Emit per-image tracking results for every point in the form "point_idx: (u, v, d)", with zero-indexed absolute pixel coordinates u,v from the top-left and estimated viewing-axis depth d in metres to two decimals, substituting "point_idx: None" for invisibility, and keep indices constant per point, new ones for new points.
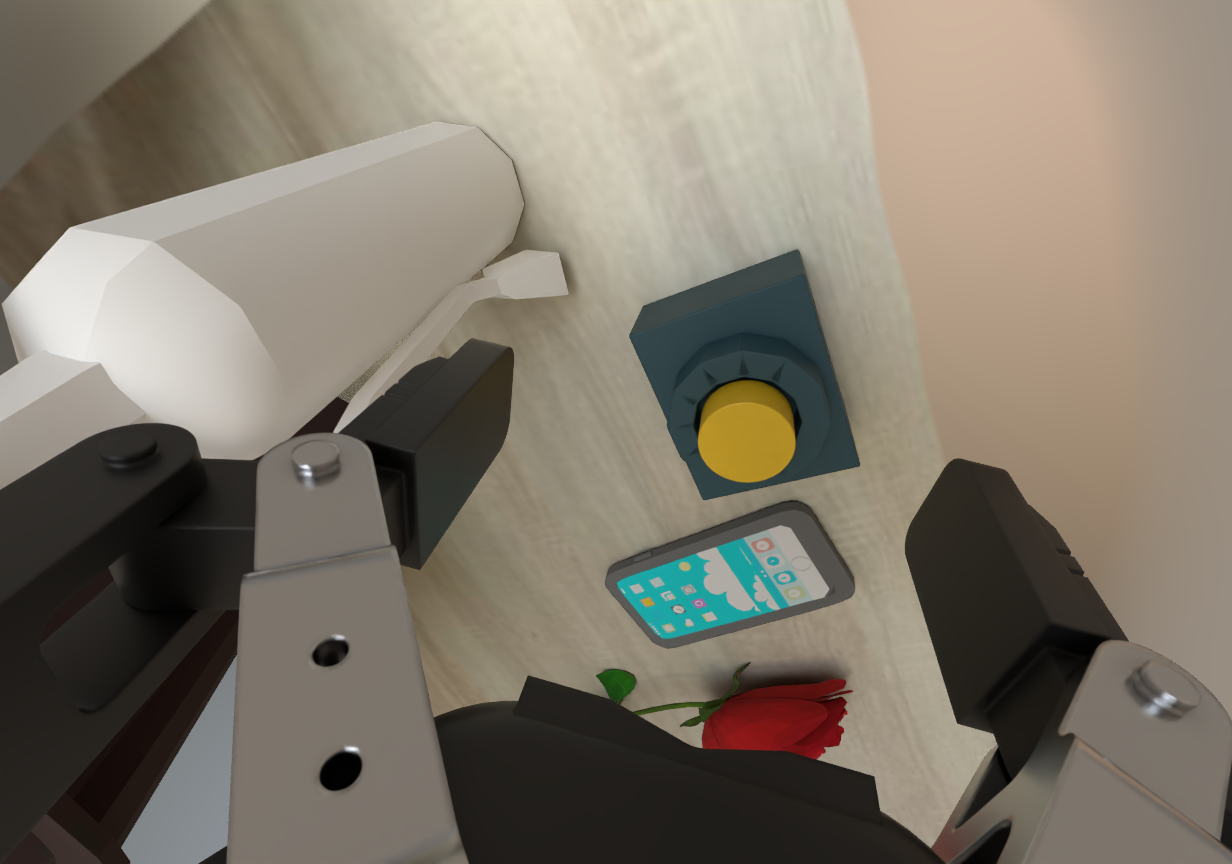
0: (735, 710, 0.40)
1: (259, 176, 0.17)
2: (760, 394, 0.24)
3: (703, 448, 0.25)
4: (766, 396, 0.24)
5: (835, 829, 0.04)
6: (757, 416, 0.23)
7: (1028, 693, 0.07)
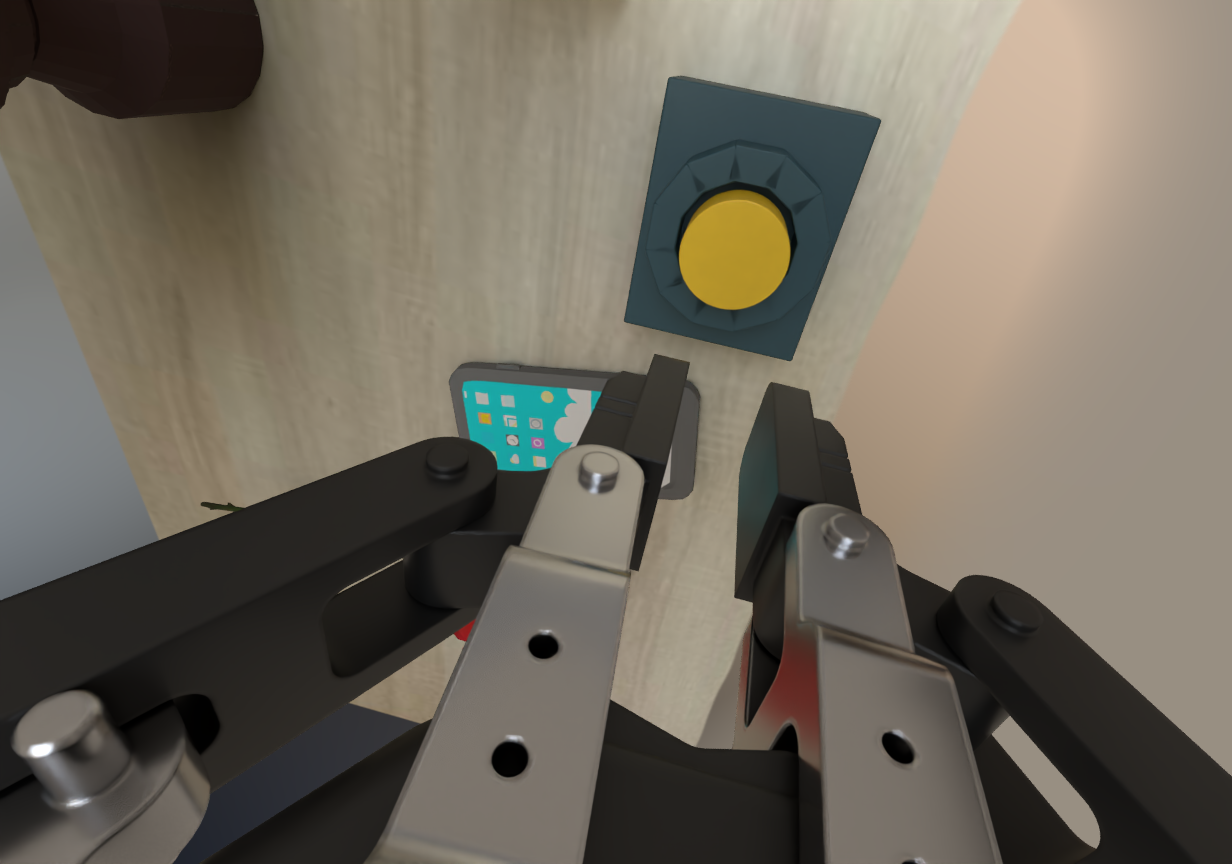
0: None
1: None
2: (777, 213, 0.21)
3: (688, 238, 0.21)
4: (781, 219, 0.21)
5: None
6: (766, 231, 0.20)
7: (769, 557, 0.08)
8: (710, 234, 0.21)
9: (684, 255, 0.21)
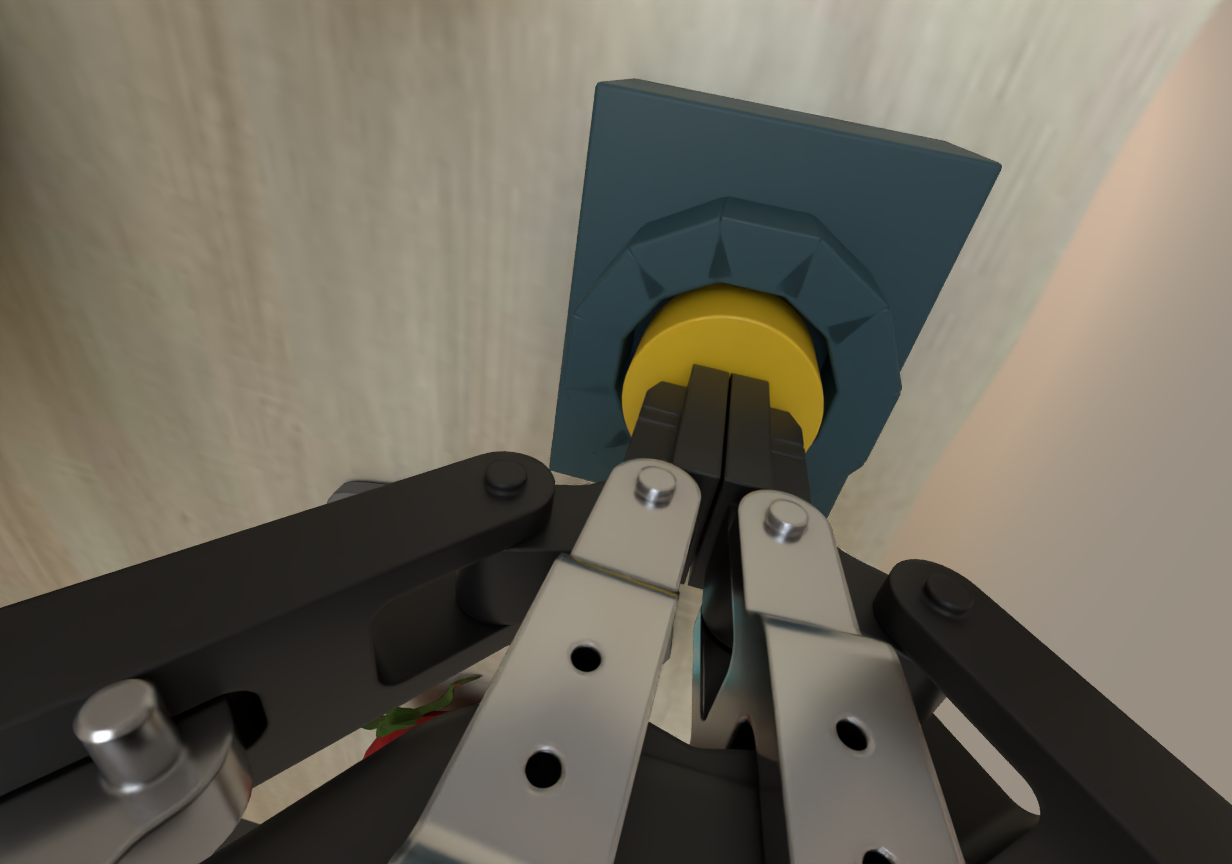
0: None
1: None
2: (799, 333, 0.11)
3: (637, 375, 0.11)
4: (807, 343, 0.11)
5: None
6: (779, 372, 0.11)
7: (718, 544, 0.08)
8: (676, 371, 0.11)
9: (631, 402, 0.12)
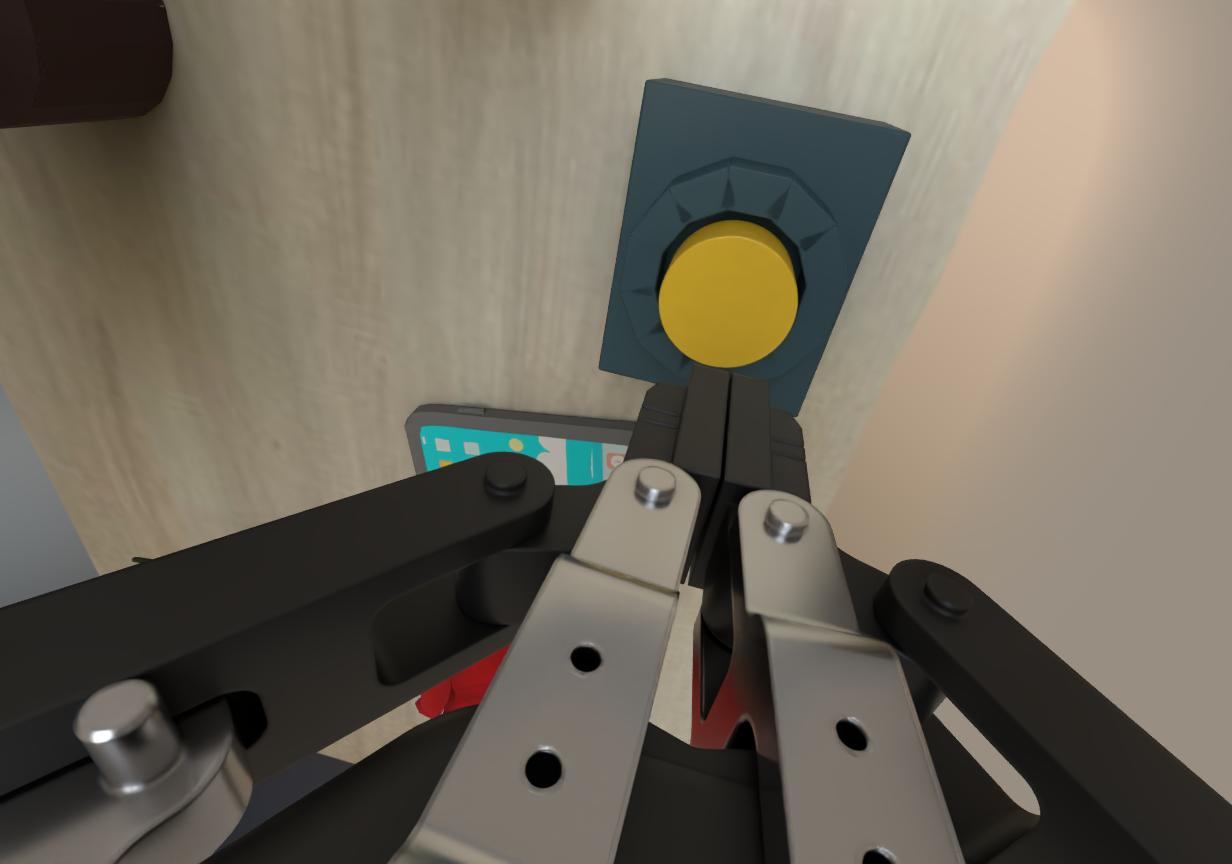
0: None
1: None
2: (781, 251, 0.16)
3: (670, 282, 0.17)
4: (786, 258, 0.17)
5: None
6: (767, 275, 0.16)
7: (717, 544, 0.08)
8: (697, 277, 0.16)
9: (665, 302, 0.17)
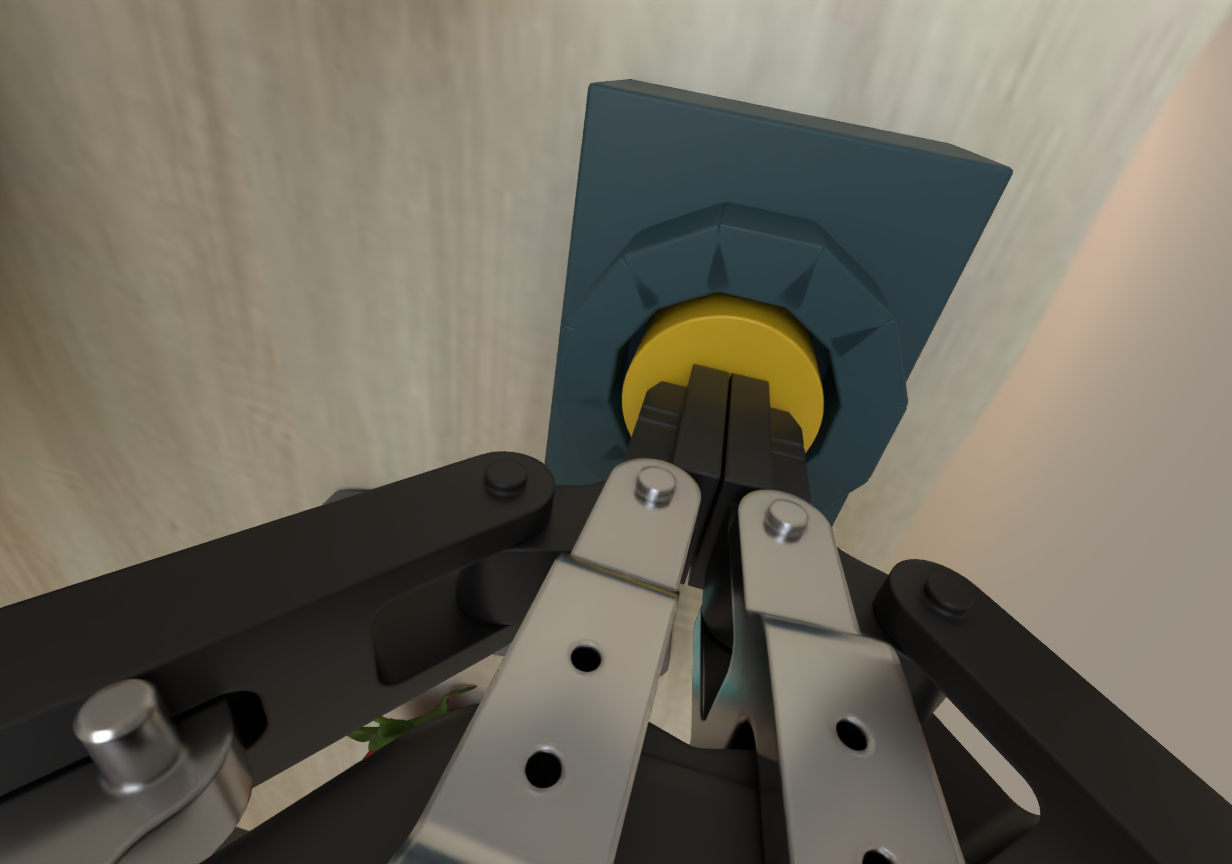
0: None
1: None
2: (799, 333, 0.11)
3: (637, 376, 0.11)
4: (807, 343, 0.11)
5: None
6: (779, 372, 0.11)
7: (717, 544, 0.08)
8: (676, 371, 0.11)
9: (631, 402, 0.12)
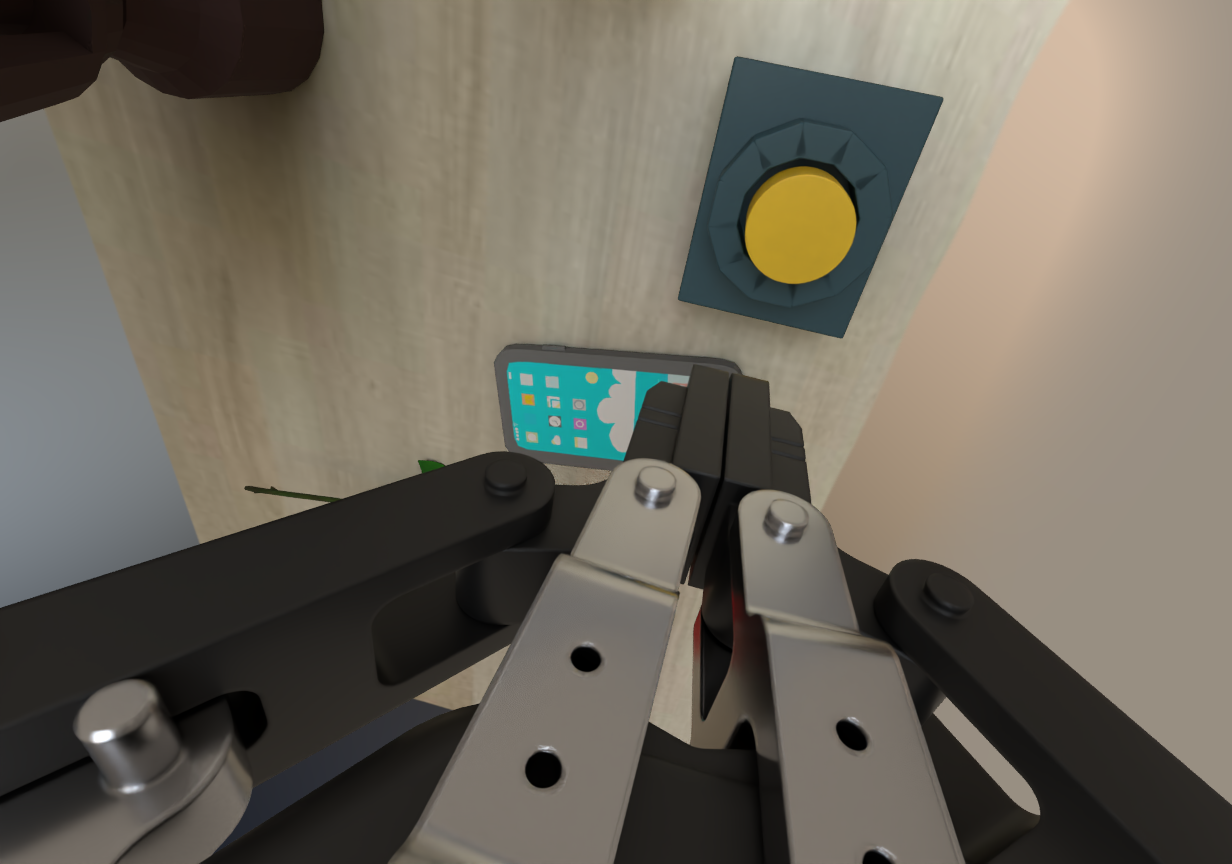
0: None
1: None
2: (843, 188, 0.21)
3: (756, 213, 0.22)
4: None
5: None
6: (833, 206, 0.21)
7: (718, 544, 0.08)
8: (777, 209, 0.21)
9: (750, 230, 0.22)
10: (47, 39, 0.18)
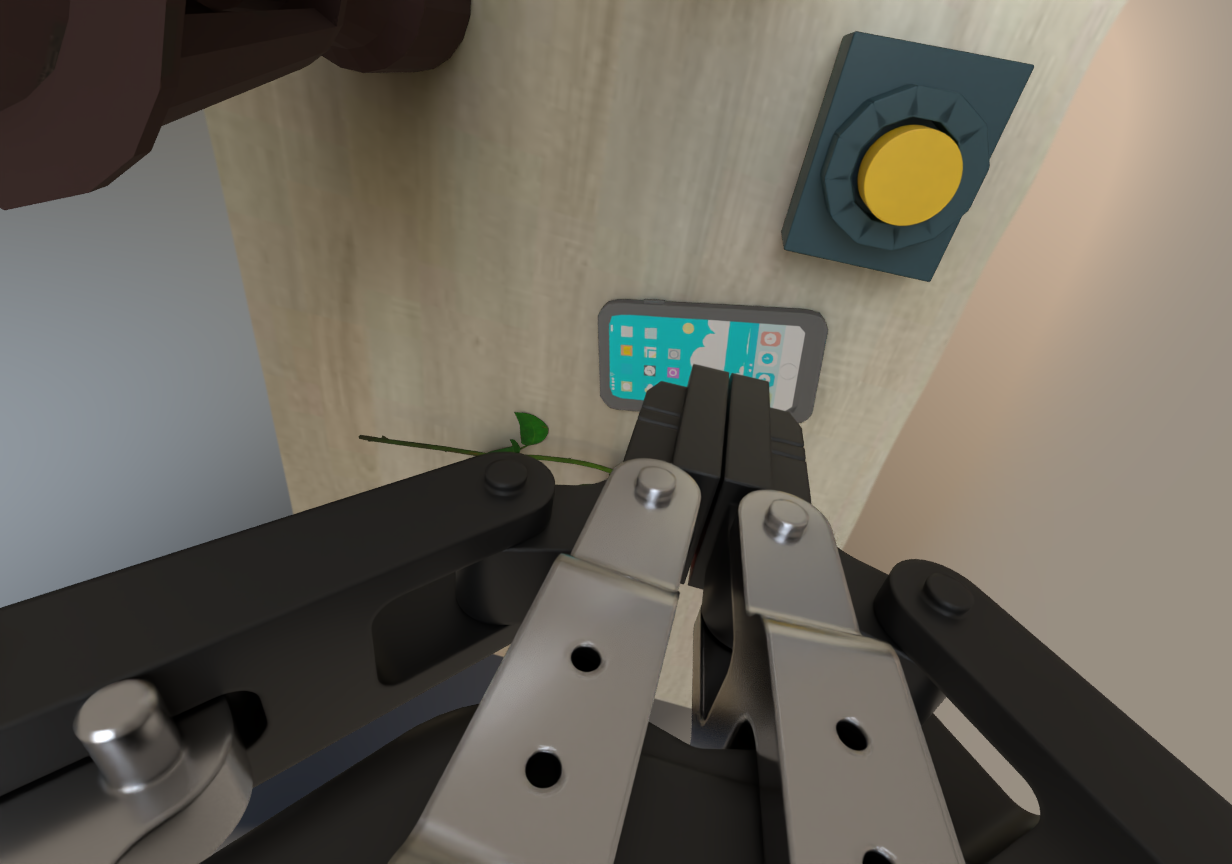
0: None
1: None
2: None
3: (875, 163, 0.25)
4: None
5: None
6: (944, 156, 0.25)
7: (718, 544, 0.08)
8: (895, 159, 0.25)
9: (869, 178, 0.26)
10: (308, 14, 0.22)
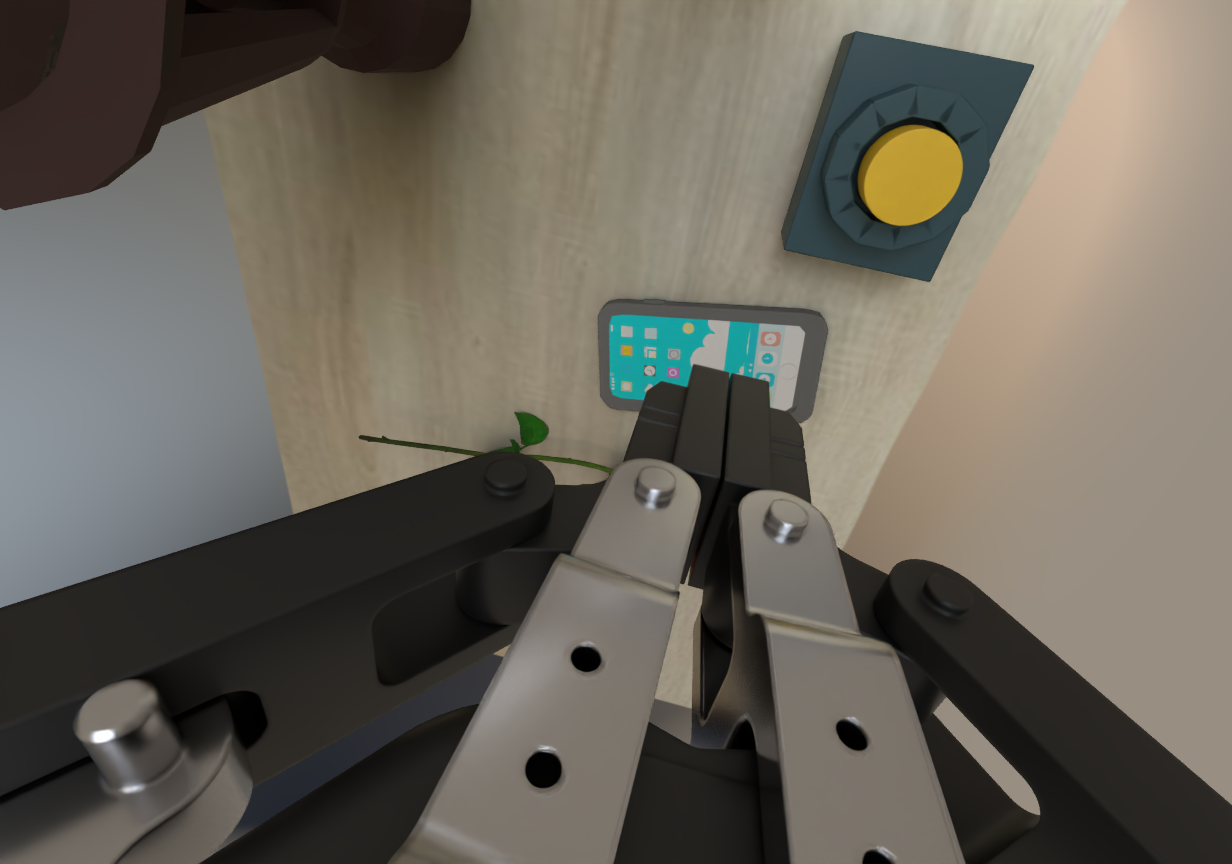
0: None
1: None
2: None
3: (875, 163, 0.25)
4: None
5: None
6: (944, 156, 0.25)
7: (718, 544, 0.08)
8: (895, 159, 0.25)
9: (869, 178, 0.26)
10: (308, 14, 0.22)
